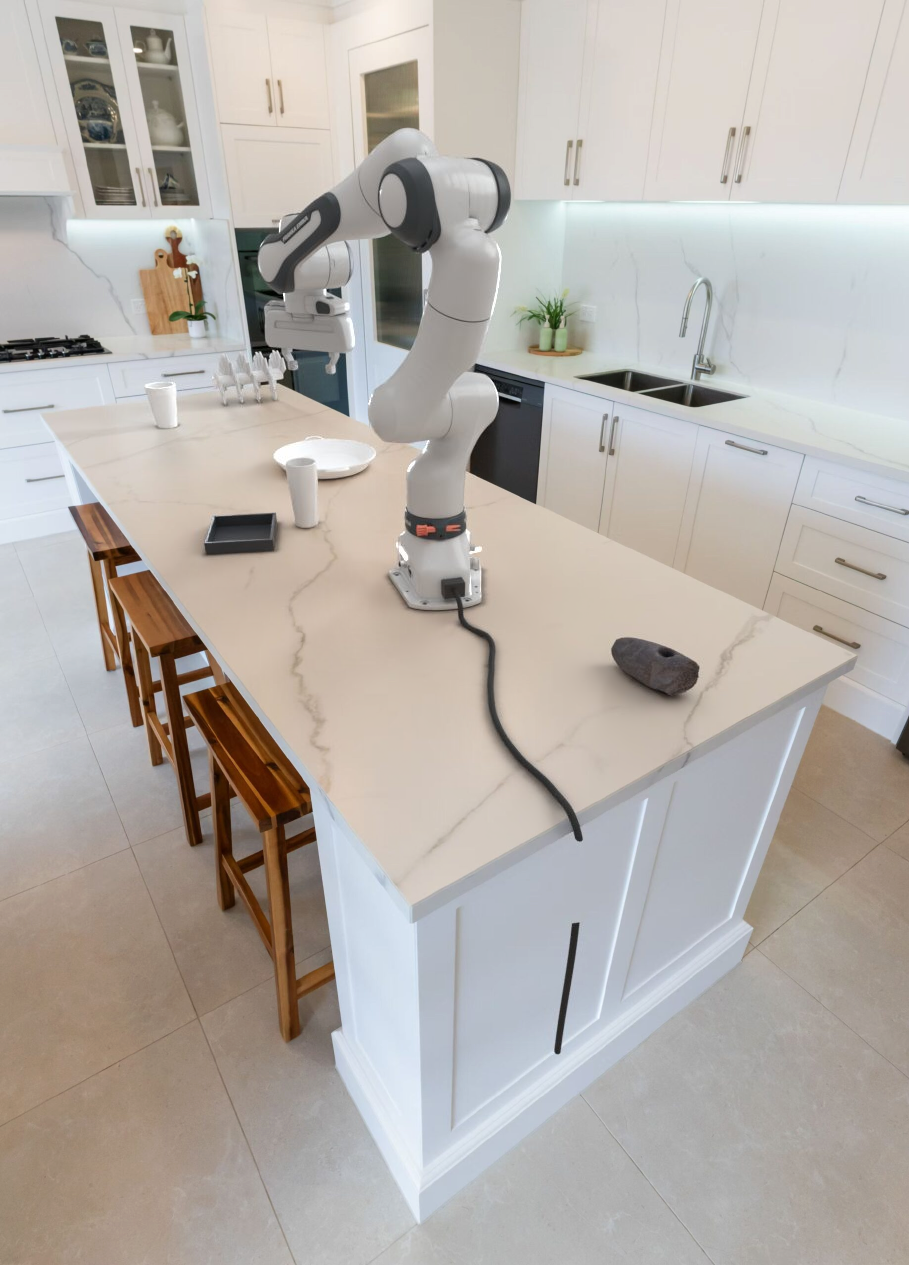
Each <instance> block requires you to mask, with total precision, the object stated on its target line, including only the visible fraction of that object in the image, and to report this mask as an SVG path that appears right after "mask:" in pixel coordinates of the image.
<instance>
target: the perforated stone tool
mask: <svg viewBox="0 0 909 1265" xmlns="http://www.w3.org/2000/svg"><path fill="white" fill-rule="evenodd" d="M610 651H611V656H612V658H613V660H614V662H615V664H616V665H617V666H618V667H619V669H621V670H622V671H623V672H625V673H626V674H627V675H628V676H631V677H633V678H634V679H635V680H637V681H639V683H641V684H644V685H645V686H647V687H648V688H651V689H652V690H656V691H661V692H663V693H666V695H668V696H671V697H672V696H675V695H678V694H684V693H686V692H688V691H689V690H692V688H693V687H695V685H696V684H697V683H698V679H699V678H700V676H699V674H700V673H699V672H700V669H701V668H700V665H699V663H698V662H697V661H695V660H693V659H691V657H688V656H686V655H684V654H683V653H681V652H679V651H677V650H675V649H673V648H671V647H667V646H666V645H662V644H660V643H657V642H652V641H650V640H646V639H642V638H637V637H630V636H627V637H620V638H617V639H615V641H614V642H613V644H612V646H611V648H610Z"/></svg>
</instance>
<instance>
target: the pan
mask: <svg viewBox="0 0 909 1265" xmlns="http://www.w3.org/2000/svg"><path fill="white" fill-rule="evenodd" d="M376 456H377V452H376V449H375V448H374V447H372V445H369V444H368V443H365V442H361V441H358V440H353V439H343V438H323V437H322V436H318V435H312V436H311V435H310V436H307V437H305V438H304V439H303V440H301V441H297V442H293V443H289V444H286V445H284V446H281V447H280V448H278V449H276V451H275V452H274V453H273V455H272V457H273V460H274V462H275V463H276V464H277V465H279V466H280V467H281V468H282V469H283V470H284V471H285V472H286V462H287V461H288V460H290V459H293V458H301V457H305V458H312V459H314V460H315V461H316V466H317V476H318V480H333V479H341V478H347V477H350V476H353V475H356V474H358V473H361V472H363V471H364V470H366V468H367V467H368V466H369V465H370V464H371V462H372V461H373V460H374V459H375V457H376Z"/></svg>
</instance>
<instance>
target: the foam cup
mask: <svg viewBox="0 0 909 1265" xmlns="http://www.w3.org/2000/svg"><path fill="white" fill-rule="evenodd" d="M144 391H145V395H146V396H147V399H148V402H149V406H150V408H151V411H152V414H153V417H154V419H155V420H154V421H155V423H156V426H157V428H159V429H173V428H176V427H178V405H177V404H178V402H177V385H176V383H175V382H171V381H157V382H150V383H146V384H145V385H144Z"/></svg>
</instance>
